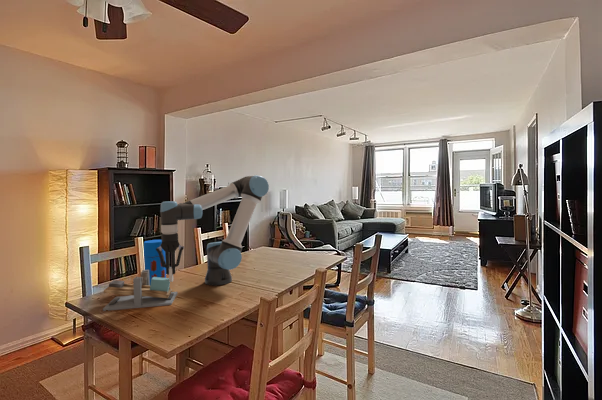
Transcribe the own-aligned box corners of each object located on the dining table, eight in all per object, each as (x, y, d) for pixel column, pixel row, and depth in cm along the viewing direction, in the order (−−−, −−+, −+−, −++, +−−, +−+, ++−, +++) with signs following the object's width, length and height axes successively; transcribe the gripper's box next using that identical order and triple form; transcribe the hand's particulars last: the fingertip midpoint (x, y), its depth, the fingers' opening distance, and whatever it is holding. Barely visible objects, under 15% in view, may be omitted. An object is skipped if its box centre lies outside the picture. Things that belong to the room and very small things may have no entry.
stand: (177, 293, 166) (176, 267, 166) (171, 304, 150) (170, 276, 150) (116, 298, 160) (114, 271, 160) (102, 310, 144) (101, 281, 144)
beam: (172, 290, 164) (174, 274, 163) (167, 298, 152) (170, 280, 152) (112, 285, 158) (115, 268, 158) (102, 293, 146) (105, 275, 146)
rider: (168, 290, 159) (170, 278, 159) (167, 293, 155) (168, 280, 155) (151, 288, 158) (153, 276, 158) (149, 291, 154) (151, 279, 154)
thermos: (170, 283, 185) (168, 239, 184) (156, 288, 175) (154, 243, 174) (155, 281, 188) (153, 239, 187) (140, 287, 178) (139, 242, 177)
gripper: (184, 231, 162) (186, 277, 162) (157, 232, 159) (158, 279, 160) (182, 233, 154) (184, 282, 155) (153, 234, 152) (155, 284, 152)
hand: (171, 280), depth 157 cm, fingers closed
